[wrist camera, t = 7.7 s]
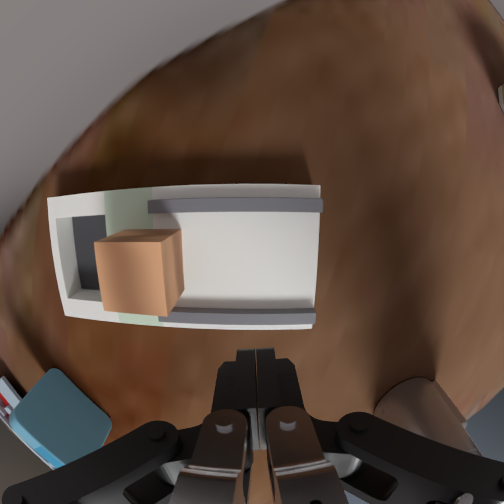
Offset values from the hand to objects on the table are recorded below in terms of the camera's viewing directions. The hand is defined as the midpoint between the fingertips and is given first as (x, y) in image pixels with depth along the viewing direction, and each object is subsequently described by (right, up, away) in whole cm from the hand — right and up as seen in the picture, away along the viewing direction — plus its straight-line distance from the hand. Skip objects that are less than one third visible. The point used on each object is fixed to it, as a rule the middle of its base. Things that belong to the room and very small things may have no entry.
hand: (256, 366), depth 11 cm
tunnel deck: (-7, +5, +14) cm, 16 cm away
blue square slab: (-25, -17, +19) cm, 36 cm away
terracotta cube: (-8, +4, +11) cm, 14 cm away
